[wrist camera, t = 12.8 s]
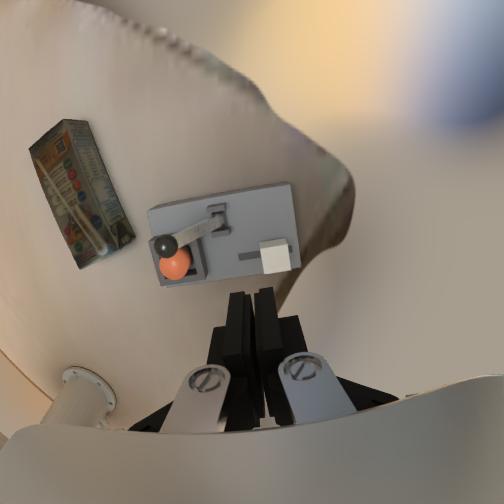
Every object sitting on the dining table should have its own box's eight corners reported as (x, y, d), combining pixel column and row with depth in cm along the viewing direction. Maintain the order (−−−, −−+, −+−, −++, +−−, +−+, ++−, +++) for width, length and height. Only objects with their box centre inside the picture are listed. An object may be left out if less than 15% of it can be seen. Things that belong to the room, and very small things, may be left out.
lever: (232, 227, 33) (169, 262, 24) (216, 228, 34) (152, 261, 25) (228, 208, 32) (163, 238, 24) (212, 209, 33) (146, 238, 25)
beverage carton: (97, 258, 39) (75, 274, 33) (50, 146, 34) (23, 147, 27) (138, 237, 38) (119, 252, 32) (88, 117, 33) (62, 113, 27)
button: (195, 267, 34) (190, 277, 31) (170, 271, 34) (163, 281, 31) (189, 241, 33) (183, 249, 30) (163, 246, 33) (155, 254, 30)
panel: (296, 256, 39) (304, 274, 33) (174, 275, 40) (162, 295, 34) (286, 181, 36) (293, 186, 30) (156, 205, 37) (139, 214, 31)
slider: (288, 262, 35) (291, 270, 32) (263, 266, 35) (264, 274, 32) (284, 238, 34) (287, 244, 31) (259, 242, 34) (260, 248, 32)
